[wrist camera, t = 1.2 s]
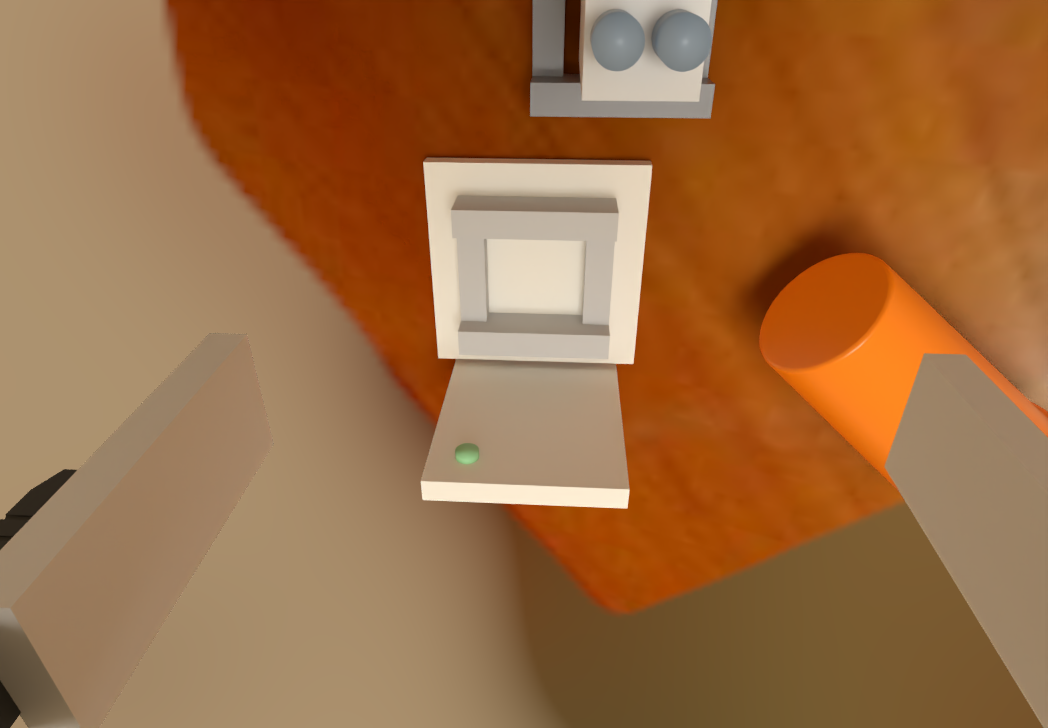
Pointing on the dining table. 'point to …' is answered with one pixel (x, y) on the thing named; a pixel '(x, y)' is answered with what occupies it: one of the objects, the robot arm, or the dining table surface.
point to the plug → (643, 49)
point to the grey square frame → (563, 91)
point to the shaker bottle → (863, 349)
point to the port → (534, 326)
